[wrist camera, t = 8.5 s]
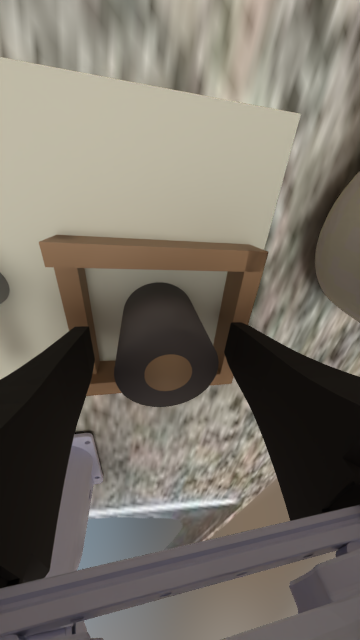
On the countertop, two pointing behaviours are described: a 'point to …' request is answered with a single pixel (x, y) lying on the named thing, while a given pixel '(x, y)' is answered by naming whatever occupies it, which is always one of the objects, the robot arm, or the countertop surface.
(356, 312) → the teacup
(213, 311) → the board
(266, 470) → the countertop surface
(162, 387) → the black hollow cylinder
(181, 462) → the countertop surface
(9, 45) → the countertop surface
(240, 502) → the countertop surface
